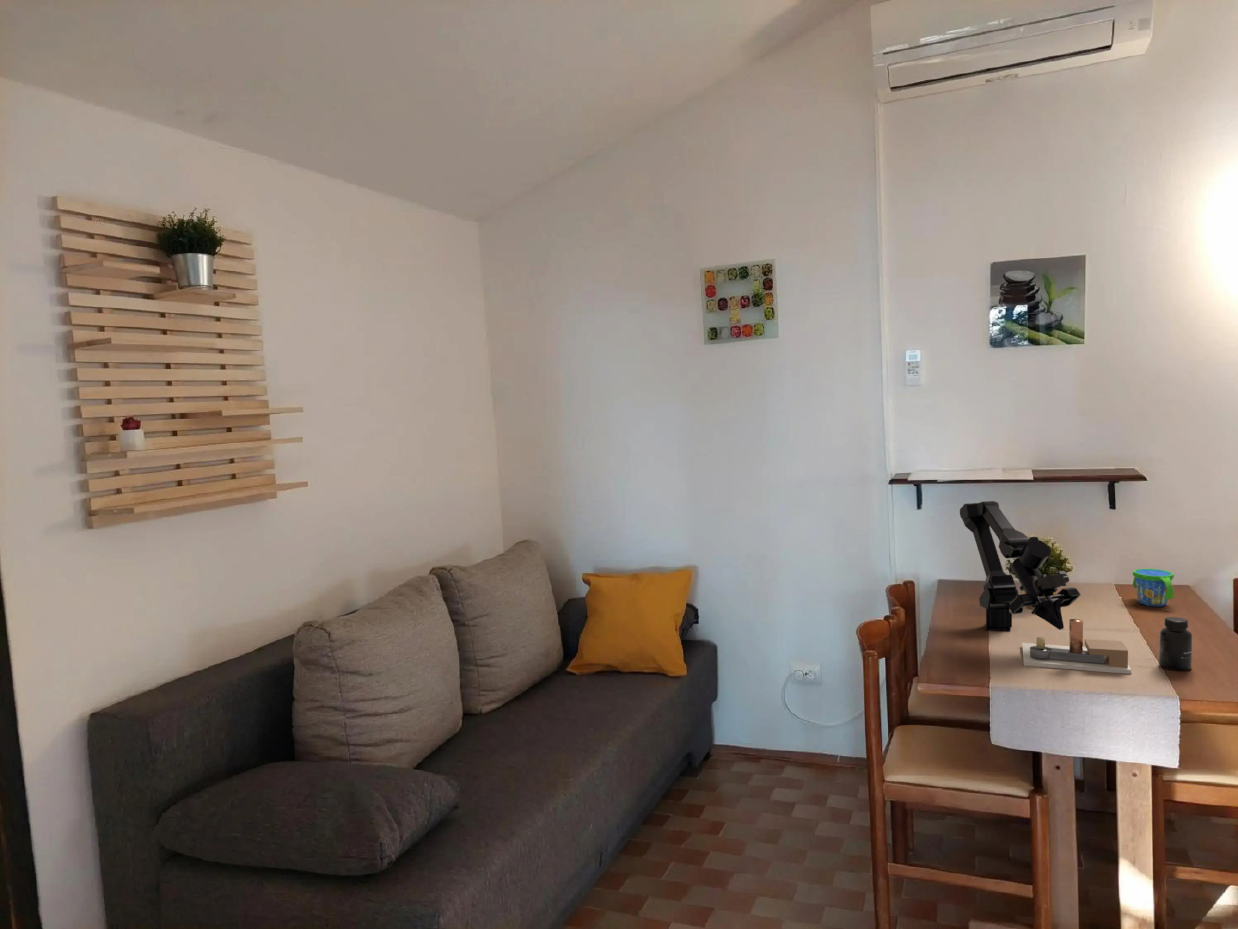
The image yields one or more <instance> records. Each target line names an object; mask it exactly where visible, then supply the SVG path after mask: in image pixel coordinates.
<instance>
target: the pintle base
mask: <svg viewBox="0 0 1238 929" xmlns="http://www.w3.org/2000/svg"><path fill="white" fill-rule="evenodd" d="M1035 642H1036V643H1030V642H1029V643H1028V642H1022V643H1021V646H1022V647H1021V648H1022V659H1023V665H1024V666H1025V667H1037V668H1038V667H1039V668H1050V669H1063V670H1076V671H1078V670H1079V671H1091V672H1103V673H1114V674H1127V675H1128V674H1129V675H1132V669H1131V667H1130V665H1129V649H1128V648H1127V647H1126V645H1125V644H1124V643H1123V641H1122V640H1108V639H1107V640H1106V639H1092V638H1091V639H1090V638H1089V639H1088V638H1084V646H1083V651H1088V652H1089V654H1091V655H1104V664H1103V663H1091V662H1079V661H1067V660H1056V659H1046V660H1042V659H1035V658H1032V657H1030V647H1032V646H1036V648H1039V649H1045V647H1049V648H1058V649H1069V645H1057V644H1046V638H1044V637H1041V636H1039V637H1036V641H1035Z"/></svg>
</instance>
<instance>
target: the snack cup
mask: <svg viewBox="0 0 1238 929" xmlns="http://www.w3.org/2000/svg"><path fill="white" fill-rule="evenodd" d="M1132 576H1133V581H1132V586H1133V588H1134V589H1136V594H1137V600H1138V603H1139V604H1141V605H1144V606H1147V607H1153V608H1155V607H1159V608H1160V607H1164V606H1167V603H1168V600H1172V599H1173V598H1174V597H1175V592H1174V589H1173V588H1174V587H1173V582H1172V580H1173V579H1174V577H1175V574H1174V573H1173V572H1172V571H1169V570H1165V569H1160V568H1159V569H1158V568H1138V569H1134V570H1133V571H1132Z"/></svg>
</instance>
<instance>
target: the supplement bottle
mask: <svg viewBox="0 0 1238 929" xmlns="http://www.w3.org/2000/svg"><path fill="white" fill-rule="evenodd" d="M1163 625H1164V627H1163V628H1162V629H1161V630H1159V631H1160V632H1159V645H1158V646H1159V650H1158V651H1159V653H1158V665H1159V666H1161V667H1162V668H1165V669H1167V670H1171V671H1177V672H1179V671H1180V672H1181V671H1189V670H1191V669H1192V665H1193V633H1192V632H1191V631H1190V630H1188V629H1189V620H1188V619H1186V618H1183V617H1178V616H1167V617H1165V618H1164V623H1163Z"/></svg>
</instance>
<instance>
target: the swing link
mask: <svg viewBox="0 0 1238 929" xmlns="http://www.w3.org/2000/svg"><path fill="white" fill-rule="evenodd" d="M1068 624H1069V631H1068V633H1069V635H1068V637H1069V640H1068V641H1069V645H1068V646H1069V649H1058V648H1049V647H1045V649H1039V648H1036V646H1032V647H1030V657H1032V658H1035V659H1042V660H1046V659H1056V660H1067V661H1079V662H1091V663H1103V664H1104V655H1091V654H1089V652H1088V651H1083V647H1084V620H1083V619H1079V618H1070V619H1069V623H1068Z"/></svg>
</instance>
